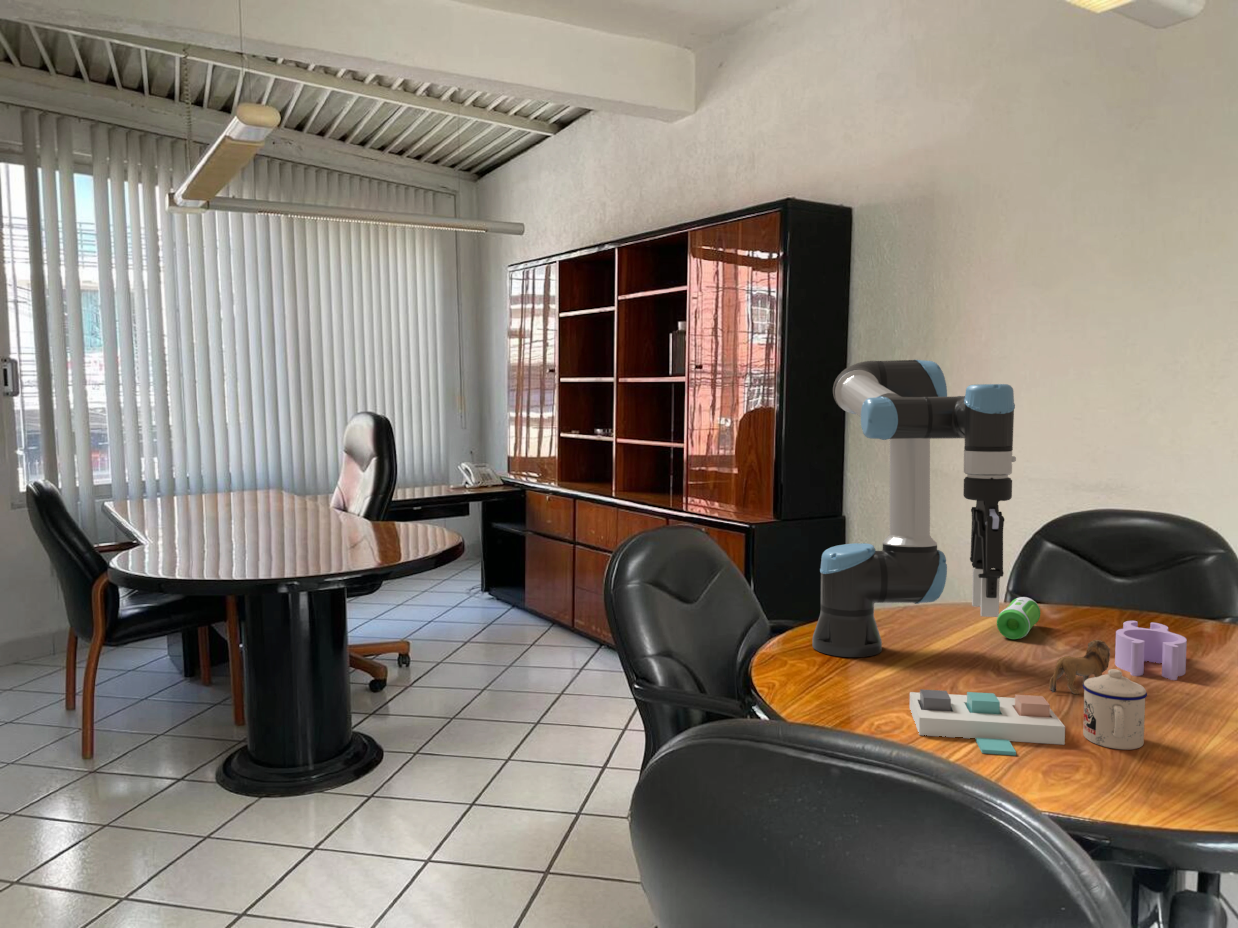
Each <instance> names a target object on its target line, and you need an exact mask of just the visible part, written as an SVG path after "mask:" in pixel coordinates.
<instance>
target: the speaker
mask: <svg viewBox="0 0 1238 928" xmlns="http://www.w3.org/2000/svg"><path fill="white" fill-rule="evenodd" d="M1040 617H1041V608H1040V606H1039V605H1038V603H1037V602H1036V601H1035V600H1034V599H1032V598H1030V597H1027V596H1021V597H1017V598H1014V599H1013V600H1012V601H1010V603H1009V605H1007V607H1005V608H1004V609H1003V610H1001V611H999V617H996V627H997V629H998V632H999V633H1000V634H1001V635H1002V636H1003V637H1005V638H1007V639H1009V640H1019V639H1022V638H1025V637H1026V636H1028V634H1029V632H1030V630H1031V629H1033V627H1034V626H1035V625H1036V624H1037V623H1038V622H1039V620H1040V619H1041V618H1040Z"/></svg>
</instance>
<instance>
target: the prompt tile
mask: <svg viewBox="0 0 1238 928" xmlns="http://www.w3.org/2000/svg"><path fill="white" fill-rule="evenodd" d="M975 742H976V744H977V747H978V748H979V751H981V753H982V754H989V755H1002V756H1014V757H1015V756H1017V751H1016V749H1015V748H1014V746H1013V745H1012V743H1011V741H1009V740H1006V739H990V738H976V739H975Z"/></svg>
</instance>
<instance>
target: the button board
mask: <svg viewBox="0 0 1238 928" xmlns="http://www.w3.org/2000/svg"><path fill="white" fill-rule="evenodd" d="M948 695H949V697H950V699H951V712H950V711H933V710H921V708H920V692H914V691H909V710H911V711H910V713H912V714H911V716H912V719H913V721H915V722H914V724H916V725H915V727H916V730H917V733H918V732H919V733H918V735H919V736H924V735H925V736H926V735H927V736H926V737H939V736H942V737H943V738H955V737H963V738H962V739H970V738H975V739H974V740H976V738H990V739H1006V740H1009V741H1010V742H1017V743H1018V742H1021V743H1034V744H1048V745H1049V744H1050V745H1063V746H1064V745H1065V744H1066V742H1065V741H1066V740H1065V739H1066V737H1065V736H1066V726H1065V725H1064V724H1063V722H1062V721H1061V720H1060V719H1059V717H1058V716H1057V715H1056V714H1055V712H1054V711H1053V709H1051V708H1050V717H1033V716H1019V715H1018V713H1017V712H1016V710H1015V697H1005V696H996V697H997V699H998V700H999V702H1000V714H983V713H970V712H969V710H968V709H967V694H951V693H948ZM945 736H946V737H945Z"/></svg>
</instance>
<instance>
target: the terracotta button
mask: <svg viewBox="0 0 1238 928" xmlns="http://www.w3.org/2000/svg"><path fill="white" fill-rule="evenodd" d="M1014 698H1015V710H1016V712H1017V713H1018V715H1019V716H1033V717H1050V709H1051V707H1050V706H1051V705H1050V703H1049V702H1048V701H1047V700H1046V698H1045V697H1044V696H1043V695H1030V694H1028V695H1026V694H1014Z"/></svg>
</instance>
